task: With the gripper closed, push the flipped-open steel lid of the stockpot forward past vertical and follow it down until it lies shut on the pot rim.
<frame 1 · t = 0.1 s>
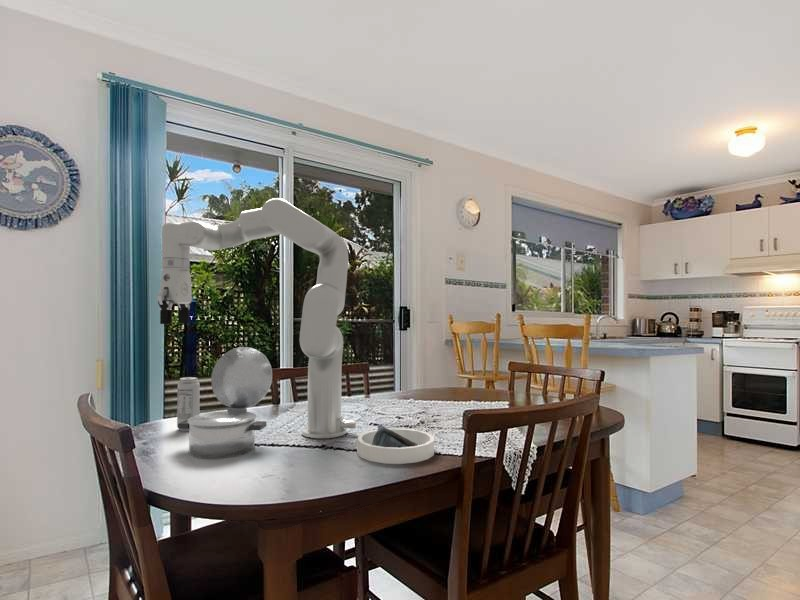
hand: (175, 323, 146), 31 cm above the table, tool pointing down, fingers open, 9 cm apart
pot: (222, 449, 126), on the table
round white tray: (395, 451, 124), on the table
lid: (242, 379, 139), point 16 cm above the table, hinge at 105.0°
dark grey wedge: (396, 454, 124), on the table
energy drink can: (188, 429, 146), on the table
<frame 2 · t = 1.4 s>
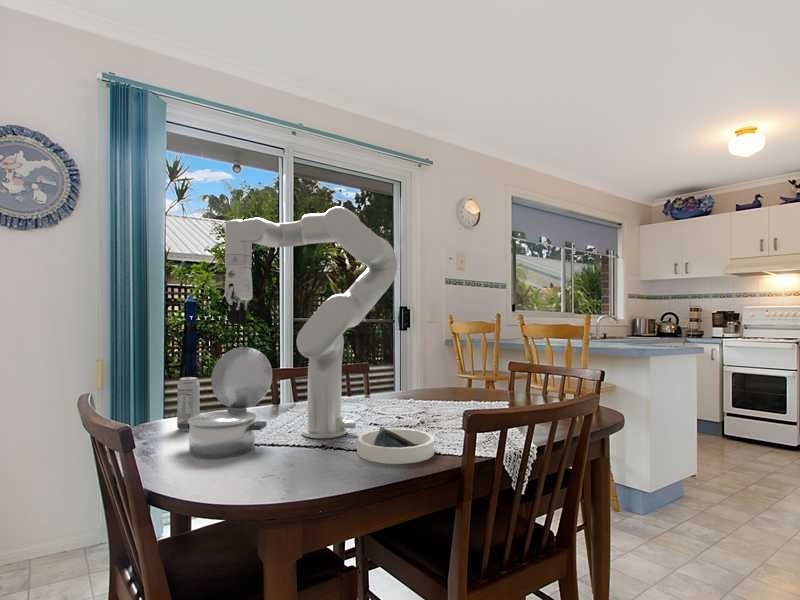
hand: (237, 323, 148), 31 cm above the table, tool pointing down, fingers open, 3 cm apart
dark grey wedge: (397, 456, 122), on the table
everything else where it was.
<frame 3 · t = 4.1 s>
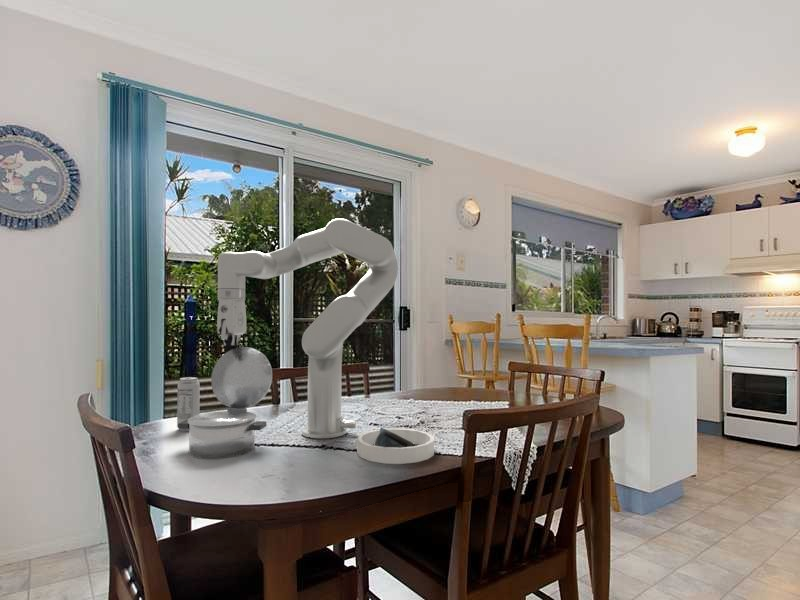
hand: (231, 359, 143), 21 cm above the table, tool pointing down, fingers closed
lid: (242, 379, 139), point 16 cm above the table, hinge at 105.0°, touching gripper
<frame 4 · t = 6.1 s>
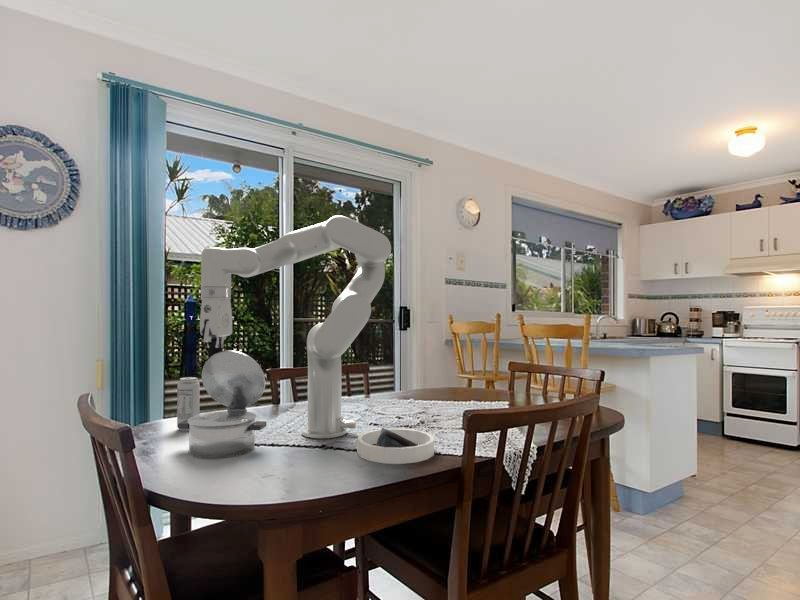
hand: (215, 362, 133), 21 cm above the table, tool pointing down, fingers closed
lid: (235, 379, 134), point 17 cm above the table, hinge at 69.2°, touching gripper
everything else where it was.
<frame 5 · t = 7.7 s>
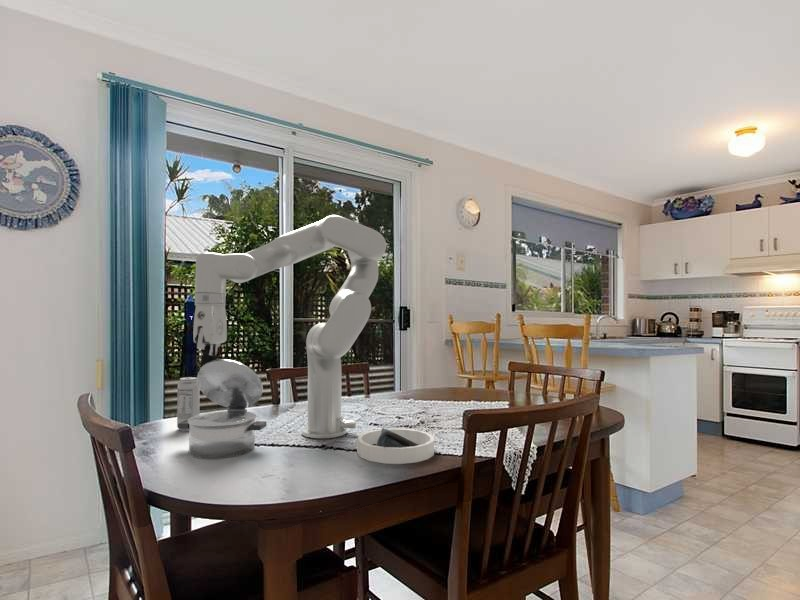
hand: (208, 370, 130), 20 cm above the table, tool pointing down, fingers closed
lid: (231, 383, 131), point 16 cm above the table, hinge at 54.1°, touching gripper
everything else where it was.
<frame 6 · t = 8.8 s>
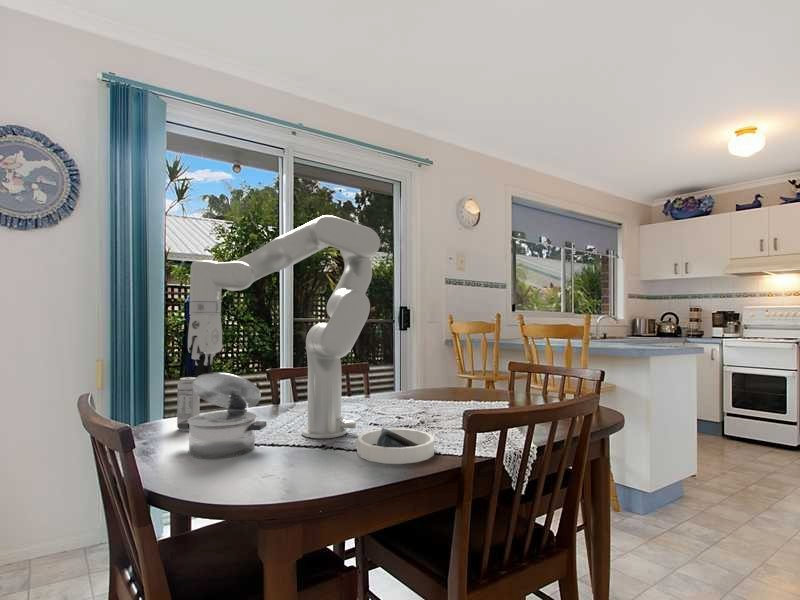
hand: (203, 380, 127), 17 cm above the table, tool pointing down, fingers closed
lid: (228, 389, 130), point 15 cm above the table, hinge at 39.2°, touching gripper
everything else where it was.
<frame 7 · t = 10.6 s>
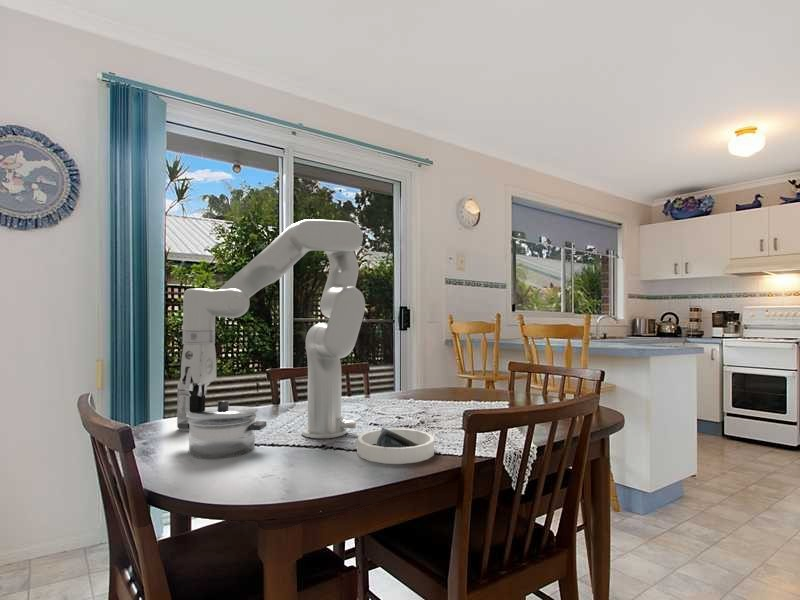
hand: (197, 411, 124), 10 cm above the table, tool pointing down, fingers closed
lid: (223, 408, 127), point 10 cm above the table, hinge at 3.6°, touching gripper
everything else where it was.
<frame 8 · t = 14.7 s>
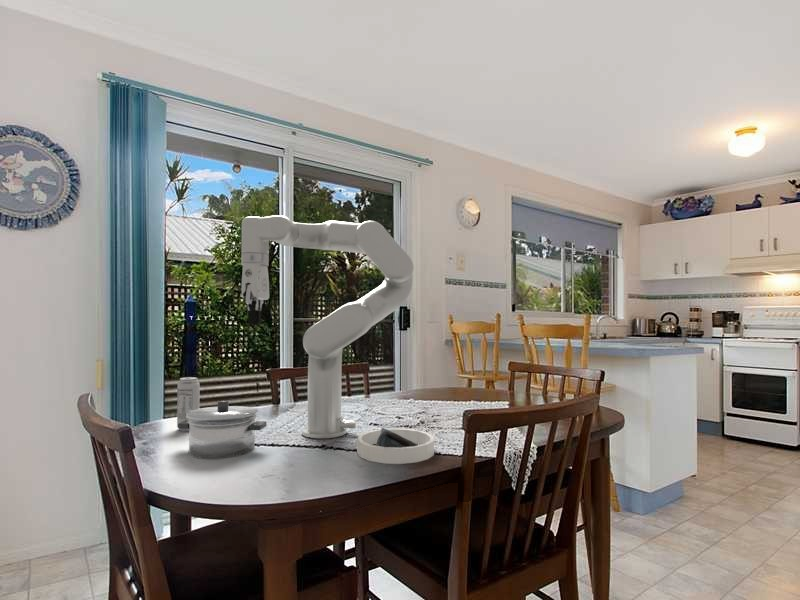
hand: (254, 324, 142), 31 cm above the table, tool pointing down, fingers closed
lid: (223, 409, 127), point 10 cm above the table, hinge at 2.9°
everything else where it was.
at the end: lid at +3° (first picture: +105°) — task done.
